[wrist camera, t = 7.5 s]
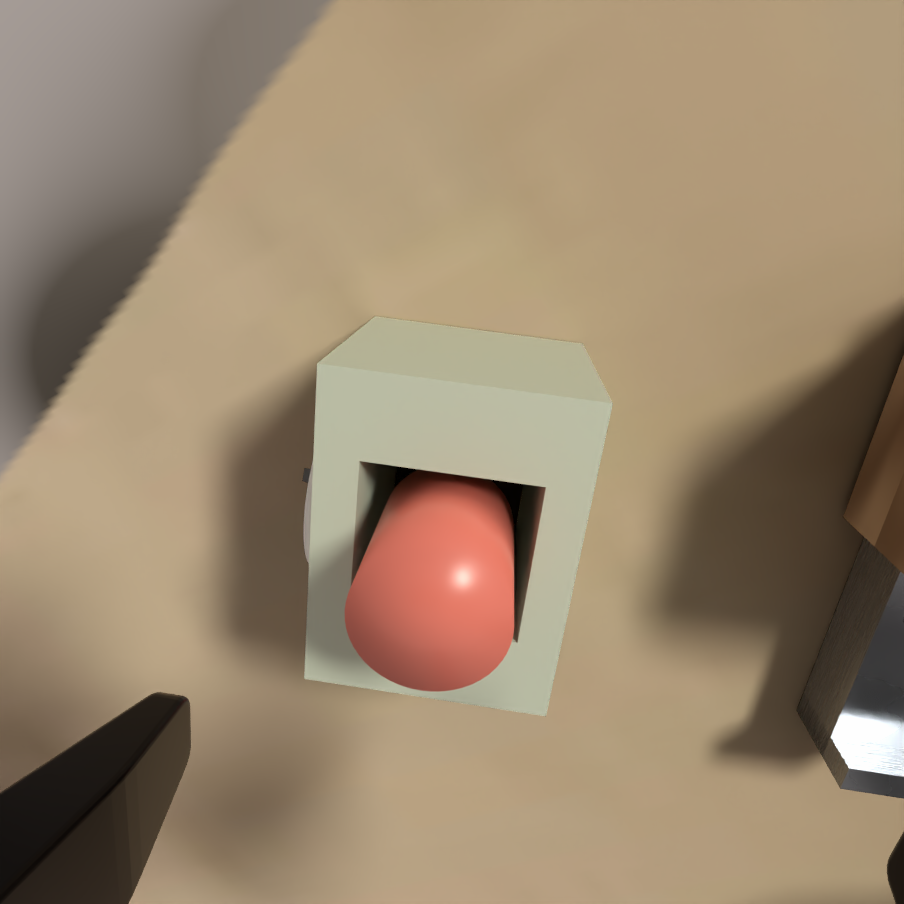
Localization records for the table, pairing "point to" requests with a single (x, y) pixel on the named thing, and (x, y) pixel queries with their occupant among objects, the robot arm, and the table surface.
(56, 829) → the robot arm
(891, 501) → the block
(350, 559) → the cabinet
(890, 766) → the rail
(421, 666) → the gauge button
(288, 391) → the table surface
